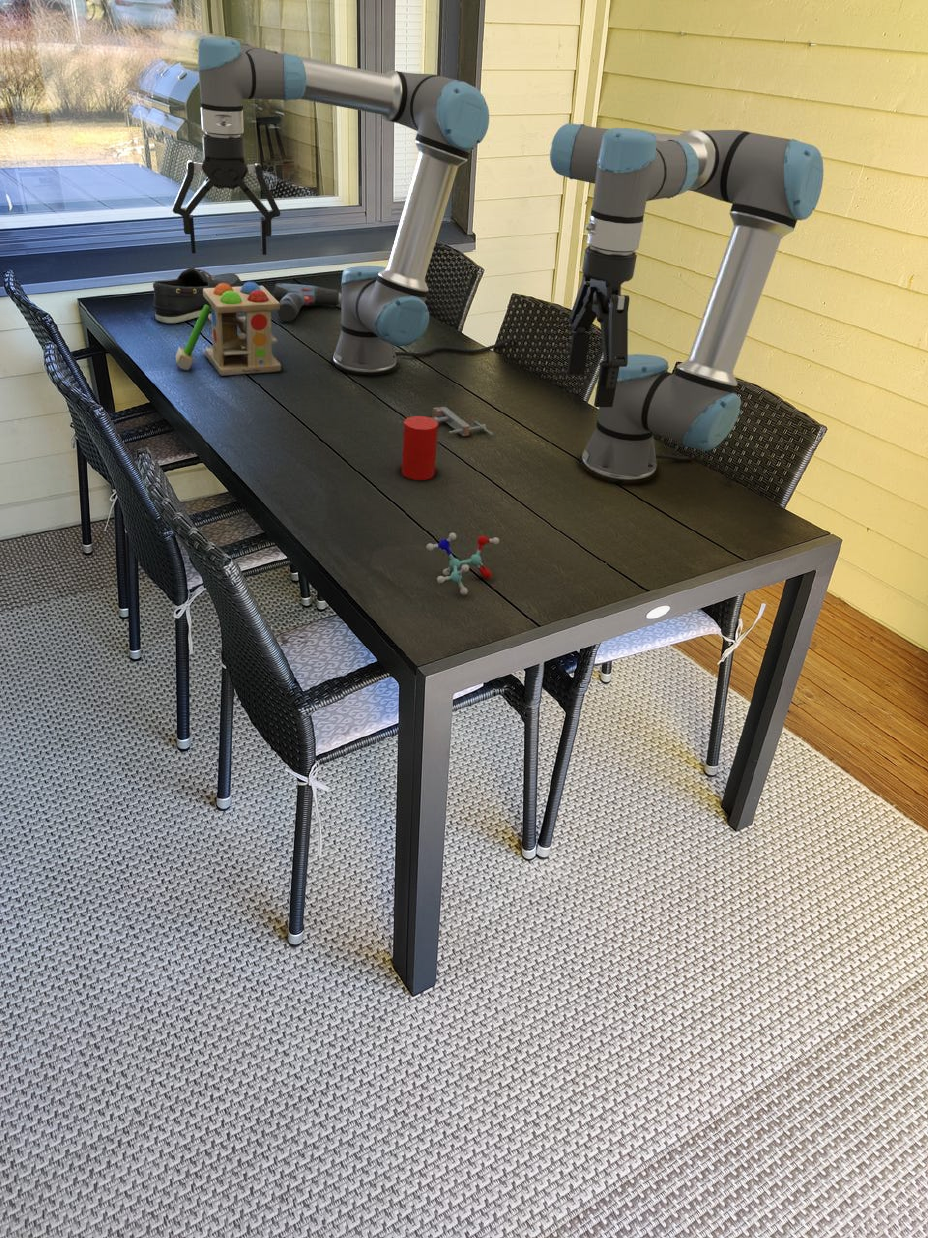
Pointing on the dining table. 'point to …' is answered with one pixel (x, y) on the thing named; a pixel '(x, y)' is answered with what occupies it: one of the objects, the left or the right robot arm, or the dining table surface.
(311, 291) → the power drill
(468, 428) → the clamp
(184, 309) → the boat shoe
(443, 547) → the molecular model
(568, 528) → the dining table surface
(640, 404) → the right robot arm
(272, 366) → the pounding bench toy
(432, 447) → the red cylinder
